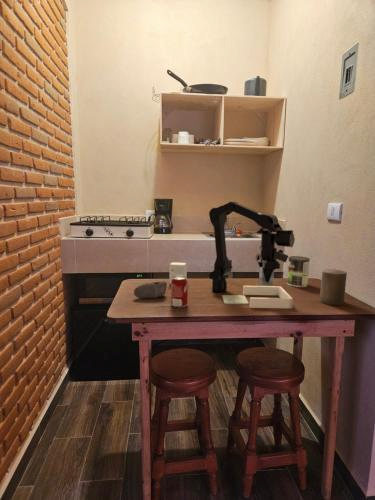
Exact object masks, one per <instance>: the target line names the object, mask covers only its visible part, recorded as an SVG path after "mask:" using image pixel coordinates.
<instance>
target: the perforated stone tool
mask: <svg viewBox="0 0 375 500" xmlns="http://www.w3.org/2000/svg"><path fill="white" fill-rule="evenodd" d="M167 284H168V283H167V282H166V281H152V282H148V283H147V282H146V283H144V284H141V285H138V286H136V287H135V288H134V291H133V295H134V297H136V298H139V299H156V298H162V297H164V296H165V294H166V292H167Z"/></svg>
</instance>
